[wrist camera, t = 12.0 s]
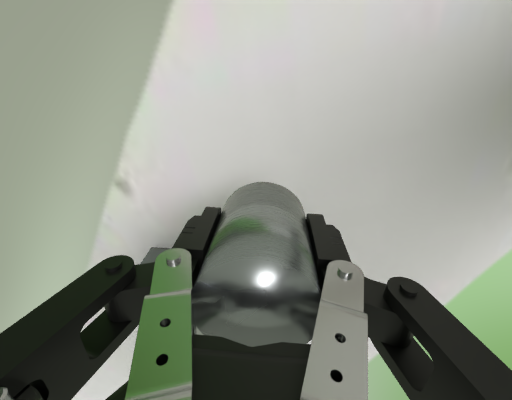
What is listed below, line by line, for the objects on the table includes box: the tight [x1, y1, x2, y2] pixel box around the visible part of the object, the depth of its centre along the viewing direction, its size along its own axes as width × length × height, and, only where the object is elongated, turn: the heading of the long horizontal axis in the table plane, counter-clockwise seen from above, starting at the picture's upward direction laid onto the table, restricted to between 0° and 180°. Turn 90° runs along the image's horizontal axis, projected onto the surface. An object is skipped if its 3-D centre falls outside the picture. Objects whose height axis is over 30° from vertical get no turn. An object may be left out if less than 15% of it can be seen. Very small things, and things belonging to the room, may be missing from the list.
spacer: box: [193, 182, 321, 347], centre depth 11 cm, size 4×4×6 cm
